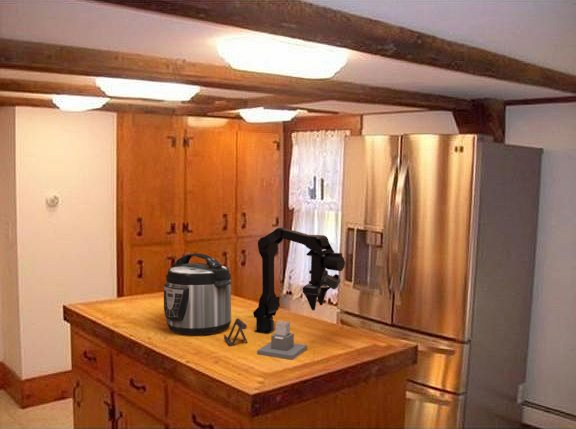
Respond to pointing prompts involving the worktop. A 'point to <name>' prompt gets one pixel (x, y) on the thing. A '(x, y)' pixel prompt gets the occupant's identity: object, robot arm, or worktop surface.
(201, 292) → the pressure cooker
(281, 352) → the grey socket plate
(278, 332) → the steel column
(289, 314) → the worktop surface
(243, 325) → the portable electronic device stand
